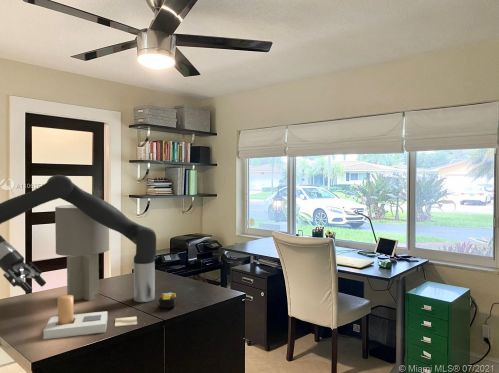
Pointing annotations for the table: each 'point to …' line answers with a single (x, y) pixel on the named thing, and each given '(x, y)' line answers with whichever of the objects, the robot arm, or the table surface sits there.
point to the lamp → (80, 249)
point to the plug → (65, 310)
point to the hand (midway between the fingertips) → (37, 288)
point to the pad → (125, 321)
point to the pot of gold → (168, 300)
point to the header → (77, 325)
